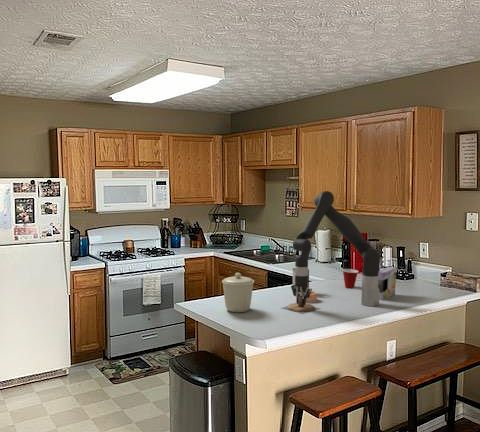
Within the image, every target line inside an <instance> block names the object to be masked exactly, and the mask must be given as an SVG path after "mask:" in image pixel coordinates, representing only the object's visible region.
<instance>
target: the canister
mask: <svg viewBox="0 0 480 432" xmlns="http://www.w3.org/2000/svg"><path fill="white" fill-rule="evenodd" d="M221 283H222V288H223V295H224V304H225V308H226V310H227V311H228V312H231V313H244V312H248V311H249V309H250V308H251V306H252V305H251V304H252V296H253V288H254V286H253V285H254V284H255V280H254V279H252V278H251V277H247V276H243V275H242V273H240V272H235V274H234V275H233V276H229V277H226V278H224V279H222V280H221Z"/></svg>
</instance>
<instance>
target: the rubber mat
mask: <svg viewBox="0 0 480 432" xmlns="http://www.w3.org/2000/svg"><path fill="white" fill-rule="evenodd" d="M314 307H315V309H314V310H313V311H309V312H296V311H291V310H289V309H288V305H287V306H283V307H281V309H283V310H286V311H290V312H293V313H294V312H295V313H297V314H302V315H304V314H308V313H312V312H315V311H319V310H321V307H316V306H314Z"/></svg>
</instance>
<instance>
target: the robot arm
mask: <svg viewBox="0 0 480 432" xmlns="http://www.w3.org/2000/svg"><path fill="white" fill-rule="evenodd" d="M334 201H335V196H334V194H333V192H331V191H329V190H325V191H322V192H320V193H318V194H317V195H316V196H315V197H314V200H313V202H314V205H315V207H316V208H315V209H314V211H313V212H312V214H311V215H310V217H308V219H307V221H306V223H305V224H304V226H303V228H302V230H301V231H300V232H299V233H298V234H297V236H296V237H295V238H294V240H293V241H292V248H293V250H294V251H297V252H301V254H299V255H296V256H295V262H294V264H295V266H294V268H295V285H293V284H292V285H290V286H291V292H292V294H293V296H294V297H295V298H296V299H295V300H296V302H295V303H297V304H298V296H300V294H301V295H302V305H303V306H304V305H305V304H307V303H306V298H309V296H310V294H311V291H313V288H310V287H309V288H308V285H307V284H308V269H309V259H310V258H309V257H310V253H311V251H312V242H311V241H310V240H309V239H312V238H314V235H315V234H316V233H317V229H318V228H319V226H320V224H321V222H322V220H323V218H324V216H325V217H327V219H328V220H329V221H330V222H331V224H333V225H334V227H335V228H336V229H337V231H338V232H339V233H340V235H342V236H343V237H344V238H345V239H346V240H347V241H348V242H349V243H350V244H351V245H352V246H354V249H356V251H357V252H358V253H359V255H360V256H361V258H362V259H363V260H362V261H363V264H362V265H363V266H362V269H361V270H362V272H361V305H363V306H367V307H375V306H379V305H380V300H379V292H380V289H379V288H378V275H379V270H380V265H381V256H380V253H379V250H378V249H376V248H375V247H374V246H372V245H371V244H370V243H369V242H368V241H367V240H366V239H365V238H364V237H363V235H362V233H361V231H360V230H359V229H358V227H357V226H356V224H355V223H354V222H353V221H352V220H351V219H350V218H349V217H347V216H346V215H344V214H343V213H340V212H339V211H338V210H337V209H336V208H335V207H334V206H333V203H334ZM306 290H307V292H306ZM303 292H304V293H303Z"/></svg>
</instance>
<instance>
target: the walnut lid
mask: <svg viewBox="0 0 480 432" xmlns="http://www.w3.org/2000/svg"><path fill="white" fill-rule="evenodd" d="M287 306H288V309H289V310H291V311H290V312H293V311H296V312H295V313H297V312H308V313H310V312H309V311H312V312H314V311H313V310H314V309H315V307H316V306H314V305H313V304H309V303H306V304H305V305H304V306H303V305H302V295H300V296H298V304H297V302H295V303H289V304H288V305H287ZM289 310H288V311H289Z"/></svg>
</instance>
